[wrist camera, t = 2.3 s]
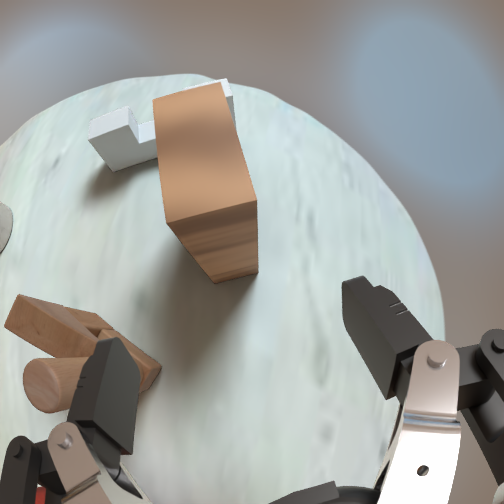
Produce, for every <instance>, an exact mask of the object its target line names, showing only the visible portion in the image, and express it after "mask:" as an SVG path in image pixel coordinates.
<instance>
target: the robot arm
mask: <svg viewBox="0 0 504 504" xmlns="http://www.w3.org/2000/svg"><path fill="white" fill-rule="evenodd" d="M12 223H13V216H12V212H11V210H10V208H9V207H8V206H6V205H5V204H3V203H2V202H0V252H1V251H2V250H3V248H4V247H5V245H6V243H7V241H8V239H9V236H10V233H11V229H12ZM342 314H343V321H344V325H345V328H346V330H347V332H348V334H349V336H350V337H351V339H352V341H353V342H354V344H355V346H356V348H357V349H358V351H359V353H360V355H361V356H362V358H363V360H364V362H365V363H366V365H367V367H368V369H369V371H370V372H371V374H372V376H373V378H374V379H375V381H376V383H377V385H378V387H379V388H380V390H381V392H382V394H383V396H384V398H385V399H386V400H388V399H390V398H392V397H394V396H396V397H397V398H398V400H399V402H400V404H399V407H398V411H397V415H396V419H395V423H394V427H393V431H392V434H391V438H390V441H389V444H388V448H387V451H386V454H385V457H384V459H383V462H382V464H381V467H380V469H379V472H378V475H377V477H376V480H375V483H374V485H373V488H372V489H371V488H366V487H358V486H340V487H336V485H335V482H334V481H331V482H328V483H325V484H322V485H318V486H315V487H311V488H308V489H304V490H300V491H296V492H293V493H291V494H289V495H287V496H285V497H282V498H280V499H278V500H276V501H273V502H271V503H269V504H446V503H447V499H448V496H449V492H450V488H451V484H452V480H453V475H454V471H455V466H456V460H457V455H458V449H459V442H460V436H461V424H460V422H457V421H456V412H457V411H459V410H460V411H461V413H462V414H463V416H464V418H465V420H466V422H467V423H468V425H469V427H470V429H471V431H472V432H473V435H474V436H475V438H476V440H477V442H478V444H479V446H480V448H481V450H482V452H483V454H484V456H485V458H486V460H487V462H488V464H489V466H490V468H491V471H492V473H493V475H494V477H495V479H496V482H497V483H498V486H499V487H498V489H497V491H496V493H495V496H494V500H493V504H504V330H501V329H492V330H489V331H487V332H486V333H485V334H484V335H483V336H482V339H481V341H480V343H479V344H477V345H472V346H467V347H462V348H454V347H453V346H452V345H451V344H449V343H447V342H445V341H441V340H433V339H432V338H431V336H430V335H429V334H428V333H427V331H426V330H425V329H424V328H423V327H422V325H421V324H420V323H419V322H418V321H417V319H416V318H415V317H414V316H413V315H412V314H411V312H410V311H408V310H407V308H406V307H405V305H404V304H403V303H401V301H400V300H399V298H398V297H397V296H396V295H395V294H394V293H393V292H392V291H390V290H388V289H386V288H385V287H383V286H381V285H379V286H376V287H373V286H372V285H371V283H370V282H369V281H368V280H367V279H366V278H365V277H364V276H360V277H356V278H353V279H350V280H347V281H343V282H342ZM79 378H80V379H79V380H78V383H77V386H76V387H77V389H75V392H74V396H73V399H72V403H71V406H70V410H69V414H68V417H67V421H66V422H64V423H61V424H59V425H57V426H56V427H55V428H54V429H53V430H52V431H51V433H50V435H49V437H48V440H45V441H42V442H38V443H35V444H34V443H33V442H31V441H30V440H29V439H28V438H27V437H25V436H17V437H15V438H14V439H13V440H12V441H11V442H10V443H9V445H8V448H7V451H6V455H5V460H4V464H3V469H2V474H1V480H0V504H35V501H36V491H37V483H38V484H39V485H41V486H43V487H44V488H46V493H45V504H153V503H152V502H151V501H150V500H149V499H148V497H147V496H146V495H145V494H144V492H143V491H142V490H141V489H140V487H139V486H138V485H137V483H136V482H135V480H134V479H133V478H132V476H131V475H130V474H129V472H128V471H127V469H126V468H125V466H124V465H123V464H122V463H121V462H120V455H132V453H133V441H134V431H135V421H136V412H137V404H138V396H139V388H140V381H141V376H140V371H139V368H138V366H137V364H136V362H135V361H134V359H133V358H132V356H131V355H130V353H129V352H128V350H127V349H126V347H125V346H124V344H123V342H122V341H121V339H120V338H118V337H113V338H108V339H102V340H99V341H98V342H97V344H96V347H95V350H94V353H93V355H90V357H89V358H88V359H87V361H86V362H85V364H84V365H83V367H82V370H81V373H80V376H79Z"/></svg>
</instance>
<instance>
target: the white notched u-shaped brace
mask: <svg viewBox="0 0 504 504" xmlns="http://www.w3.org/2000/svg"><path fill="white" fill-rule="evenodd" d="M217 82H221V85H222V88H223V91H224V94H225V97H226V100H227V103H228V107H229V110H230V113H231V116H232V119H233V123H234V126H235V129H236V122H235V113H234V104H233V95H232V93H231V90H230V87H229V84H228V81H227V78H226V79H220V80H216V81H211V82H207V83H203V84H198V85H194V86H190V87H187V88H183V91H184V90H188V89H192V88H196V87H200V86H204V85H208V84H213V83H217ZM236 132H237V131H236ZM88 141H89V142H90V143H91V144H92V146H93V147H94V148H95V150H96V151H97V152H98V154H99V155H100V156H101V157H102V159H103V160H104V161H105V162H106V164H107V165H108V166H109V167H110V169H111V170H112V171H113V172H115V171H118V170H121V169H124V168H127V167H130V166H133V165H136V164H139V163H142V162H145V161H148V160H151V159H154V158H158V156H157V147H156V136H155V125H154V120H151V121H148V122H145V123H142V124H139V125H138V123H137V121H136V119H135V117H134V115H133V113H132V111H131V109H130V107H129V106H125V107H123V108H120V109H117V110H115V111H112V112H109V113H107V114H104V115H102V116H99V117H97V118H94V119H92V120H90V125H89V135H88Z"/></svg>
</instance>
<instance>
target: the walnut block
mask: <svg viewBox="0 0 504 504" xmlns="http://www.w3.org/2000/svg"><path fill="white" fill-rule="evenodd" d="M153 113H154V125H155V136H156V147H157V156H158V165H159V174H160V182H161V190H162V197H163V204H164V211H165V218H166V223H167V225H168V226H169V227H170V229H171V230H172V231H173V232H174V234H175V235H176V236H177V238H178V239H179V240H180V241H181V243H182V244H183V245H184V246H185V248H186V249H187V250H188V252H189V253H190V254H191V255H192V257H193V258H194V259H195V260H196V262H197V263H198V264H199V265H200V266H201V268H202V269H203V270H204V271H205V273H206V274H207V275H208V276H209V278H210V279H211V280H212V281H213V282H214V284H215V283H219V282H223V281H227V280H231V279H235V278H239V277H243V276H247V275H251V274H255V273H258V224H257V198H256V195H255V192H254V188H253V185H252V181H251V178H250V175H249V171H248V168H247V165H246V162H245V158H244V155H243V152H242V148H241V145H240V142H239V139H238V135H237V132H236V129H235V126H234V123H233V119H232V116H231V113H230V110H229V107H228V103H227V100H226V97H225V94H224V91H223V88H222V85H221V82H217V83H213V84H208V85H204V86H200V87H196V88H192V89H188V90H184V91H180V92H177V93H173V94H170V95H166V96H163V97H160V98H156V99H153Z"/></svg>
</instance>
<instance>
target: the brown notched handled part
mask: <svg viewBox="0 0 504 504" xmlns="http://www.w3.org/2000/svg"><path fill="white" fill-rule="evenodd" d="M4 327H5V328H6V329H8V330H9V331H11V332H12V333H14V334H16V335H17V336H19V337H20V338H22V339H24V340H25V341H27V342H29V343H30V344H32V345H34V346H35V347H37V348H39V349H41V350H42V351H44V352H46V353H48V354H50V355H51V356H53V357H55V358H38V359H33V360H32V361H30V362H29V363H28V364H27V365H26V367H25V369H24V373H23V385H24V390H25V393H26V395H27V397H28V399H29V401H30V402H31V403H32V405H33V406H34V407H35V408H37V409H38V410H40V411H42V412H44V413H55V412H59V411H63V410H66V409H70V406H71V403H72V399H73V396H74V392H75V389H77V387H76V386H77V383H78V380H79V379H80V378H79V376H80V373H81V370H82V367H83V365H84V364H85V362H86V361H87V359H88V358H89V357H90V355H93V353H94V350H95V347H96V344H97V342H98V341H99V340H102V339H108V338H113V337H118V338H120V339H121V341H122V342H123V344H124V346H125V347H126V349H127V350H128V352H129V353H130V355H131V356H132V358H133V359H134V361H135V362H136V364H137V366H138V368H139V371H140V376H141V381H140V388H139V393H140V392H143V391H145V390H147V389H149V388H150V386H151V384H152V383H153V381H154V379H155V378H156V376H157V375H158V373H159V371H160V370H161V367H162V366H161V364H159V363H158V362H156V361H155V360H154V359H152V358H151V357H150V356H148V355H147V354H145V353H144V352H143V351H142V350H140V349H139V348H138V347H136V346H135V345H134V344H132V343H131V342H130V341H129V340H127V339H126V338H125V337H124V336H122V335H121V334H120V333H119V332H117V331H115V330H114V329H113V327H111V326H110V325H109V324H108V323H107V322H105V321H104V320H103V319H102V318H101V317H100V316H98V315H97V314H95V313H91V312H86V311H82V310H77V309H73V308H68V307H64V306H63V305H59V304H55V303H51V302H47V301H43V300H39V299H35V298H31V297H28V296H24V295H20V294H18V295H17V297H16V300H15V302H14V304H13V306H12V308H11V311H10V313H9V315H8V317H7V320H6V322H5V325H4Z"/></svg>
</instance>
